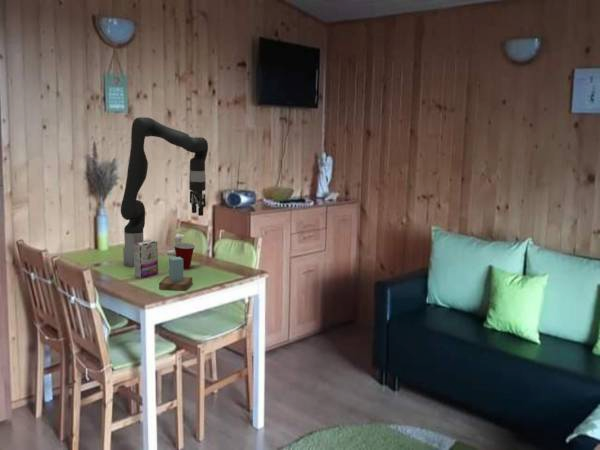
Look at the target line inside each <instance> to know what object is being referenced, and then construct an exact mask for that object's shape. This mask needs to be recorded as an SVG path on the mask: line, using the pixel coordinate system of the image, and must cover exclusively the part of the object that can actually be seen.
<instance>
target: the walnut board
mask: <svg viewBox="0 0 600 450" xmlns="http://www.w3.org/2000/svg"><path fill="white" fill-rule="evenodd" d="M192 285H193V277H192V276H183V281H177V282H172V281H171V280H169V275H166V276H165V277H164V278H163V279H162V280H160V281H159V282H158V290H159V289H163V290H162V291H178V290H180V291H181V292H186V291H187V290H188V289H190V287H191V286H192Z"/></svg>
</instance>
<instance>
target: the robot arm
mask: <svg viewBox="0 0 600 450" xmlns="http://www.w3.org/2000/svg"><path fill="white" fill-rule="evenodd" d="M130 136H131V138H130V150H129V160H128V164H127V174H126V181H125V188H124V191H123V196H122V201H121V205H120V214H121V216H122V218H123V219H124V220H127V221H128V223H127V224H126V225H125V226H124V228H123V230H124V231H123V232H124V234H123V235H124V247H123V248H122V250H123V251H122V253H123V255H122V256H123V267H126V268H127V267H128V268H134V244H135V243H139V242H144V228H145V225H146V208H145V204H144V203H143V202H142V201H141V200H139V199H138V194H139V191H140V190H141V188H142V186H143V184H144V183H145V181H146V178H147V176H148V175H147V174H148V166H149V162H148V158H147V156H146V152H145V140H146V137H147V138H149V137H156V138H160V139H163V140H164V141H166V142H167V143H169V144H170V145H172V146H173V145H174V146H176V147H180V148H182V149H183V150H184V151H187V152H189V153H193V154H194V156H193V157H192V158H190V159H189V175H188V177H189V181H188V183H189V184H188V185H189V186H188V187H189V188H188V189H189V204H190V205H191V213H192V214H196V213H197V212H198V216H199V217H203V216H204V208H206V207H207V206H206V204H207V203H206V194H205V193H203V191H206V188H207V187H206V185H207V183H206V178H207V177H206V176H207V175H206V160H207V159H206V158H207V155H208V153H209V152H208V151H209V145H208V144H209V143H208V141H207V139H206V138H204V137H201V136H198V137H193V136H190V135H189V134H188V133H186V132H183V131H180V130H177V129H174V128H171V127H169V126H166V125H165V124H162V123H160V122H159V121H158V120H155V119H153V118H151V117H143V116H142V117H136V118H135V119H133V121H132V125H131V135H130ZM197 207H198V210H197Z"/></svg>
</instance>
